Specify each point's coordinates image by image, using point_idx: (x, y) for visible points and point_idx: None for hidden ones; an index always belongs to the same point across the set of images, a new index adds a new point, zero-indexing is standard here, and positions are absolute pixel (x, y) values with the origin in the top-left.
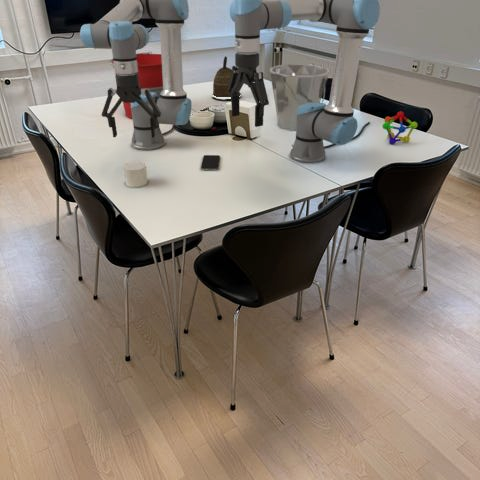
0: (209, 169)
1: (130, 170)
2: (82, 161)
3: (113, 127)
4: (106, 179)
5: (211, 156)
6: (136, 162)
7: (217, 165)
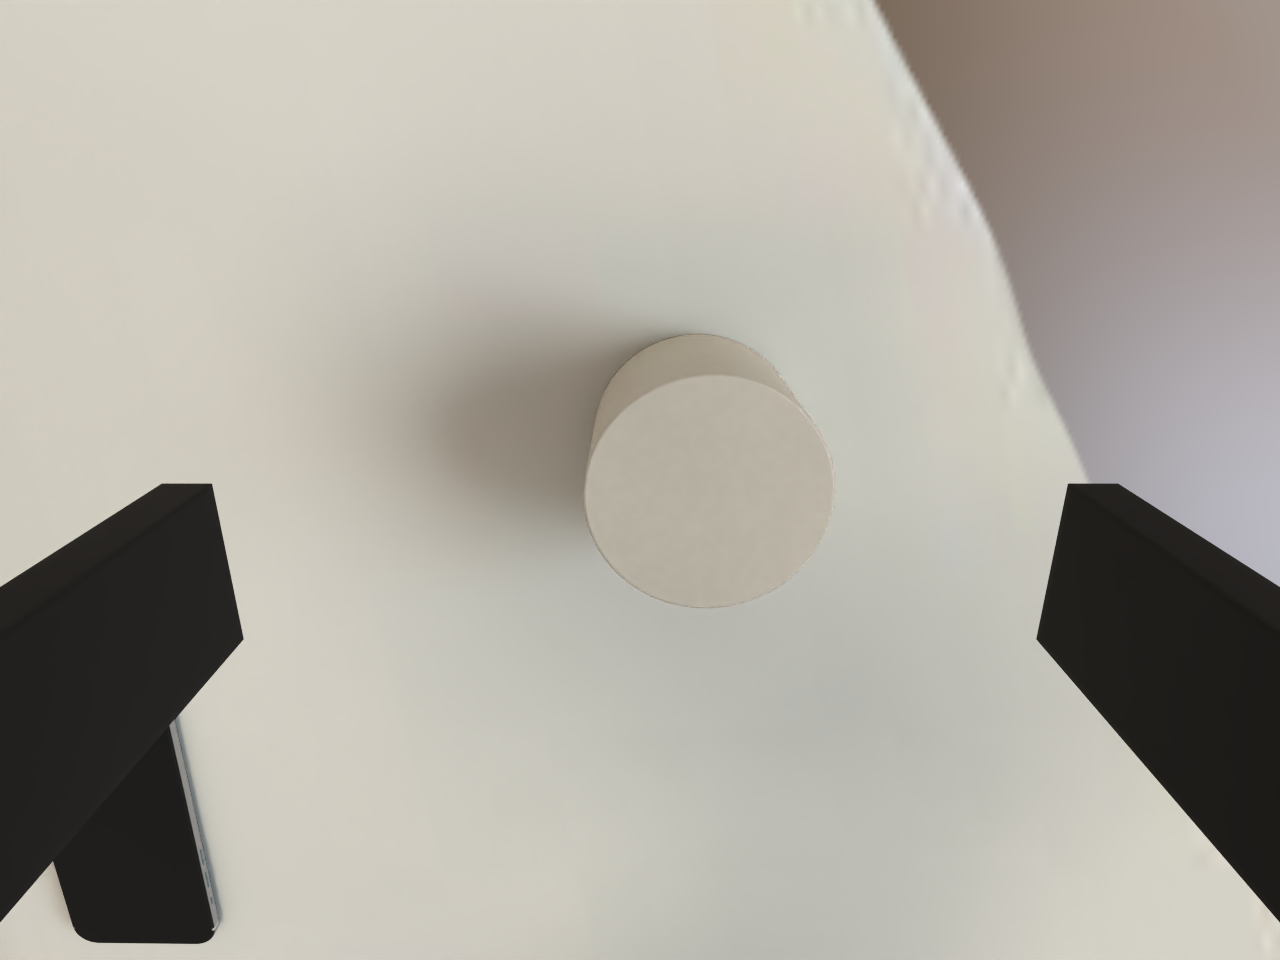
0: None
1: (737, 374)
2: None
3: (1246, 597)
4: (990, 503)
5: (142, 920)
6: (705, 589)
7: None
